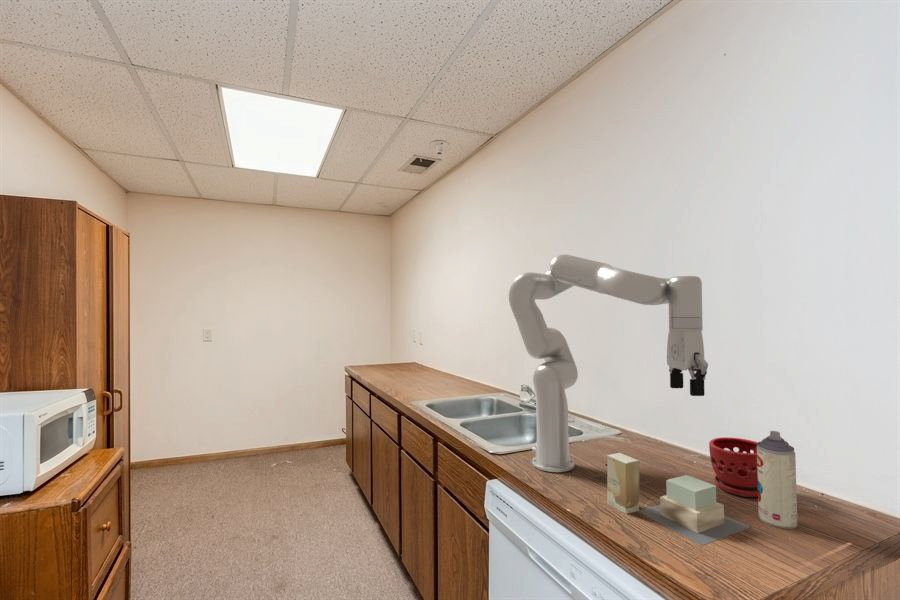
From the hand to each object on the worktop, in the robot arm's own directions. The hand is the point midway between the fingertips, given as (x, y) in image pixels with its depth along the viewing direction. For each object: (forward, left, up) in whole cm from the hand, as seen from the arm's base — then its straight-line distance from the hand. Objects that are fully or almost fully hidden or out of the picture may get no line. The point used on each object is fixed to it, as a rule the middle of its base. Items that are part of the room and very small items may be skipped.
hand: (686, 391), depth 108 cm
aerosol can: (+17, +5, -27) cm, 32 cm away
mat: (+8, -11, -27) cm, 30 cm away
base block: (+8, -11, -26) cm, 29 cm away
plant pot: (+3, +15, -27) cm, 31 cm away
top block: (+8, -11, -22) cm, 26 cm away
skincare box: (-3, -20, -27) cm, 33 cm away
